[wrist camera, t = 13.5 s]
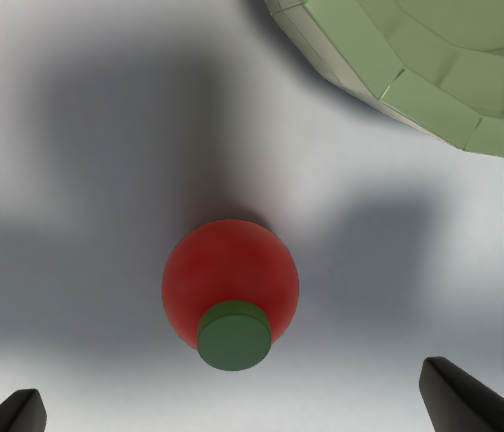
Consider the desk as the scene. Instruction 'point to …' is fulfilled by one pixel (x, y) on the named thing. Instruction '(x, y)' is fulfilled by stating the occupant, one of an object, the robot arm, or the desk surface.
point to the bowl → (411, 61)
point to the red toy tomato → (230, 292)
